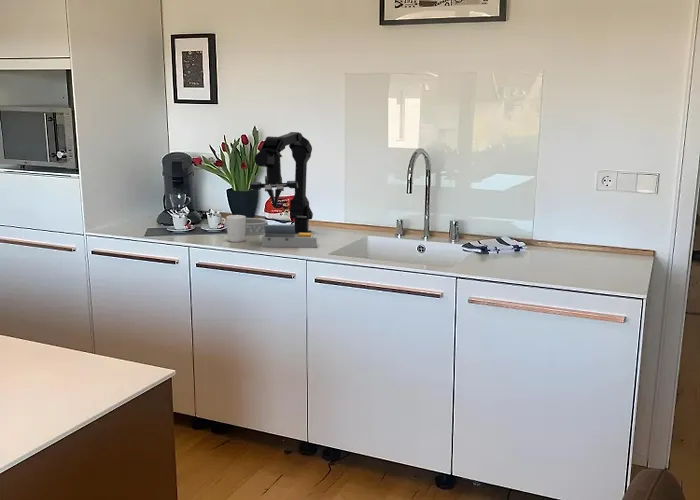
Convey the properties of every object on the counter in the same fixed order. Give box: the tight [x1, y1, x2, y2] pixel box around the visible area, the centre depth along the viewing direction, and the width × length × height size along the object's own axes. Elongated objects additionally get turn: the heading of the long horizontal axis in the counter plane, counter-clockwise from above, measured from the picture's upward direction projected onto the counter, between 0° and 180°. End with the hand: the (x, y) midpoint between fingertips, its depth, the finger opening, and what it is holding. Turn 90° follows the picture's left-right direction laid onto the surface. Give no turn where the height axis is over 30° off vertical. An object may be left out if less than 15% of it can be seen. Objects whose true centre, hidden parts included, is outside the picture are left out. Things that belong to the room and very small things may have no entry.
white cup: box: [225, 214, 247, 243], centre depth 298 cm, size 8×8×10 cm
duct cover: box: [264, 223, 296, 235], centre depth 290 cm, size 9×12×1 cm
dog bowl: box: [245, 217, 269, 237], centre depth 318 cm, size 17×18×5 cm
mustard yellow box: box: [297, 232, 312, 237], centre depth 300 cm, size 4×5×4 cm
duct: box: [261, 233, 317, 249], centre depth 291 cm, size 8×22×4 cm, turn 93°
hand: (275, 206), depth 290 cm, fingers closed
